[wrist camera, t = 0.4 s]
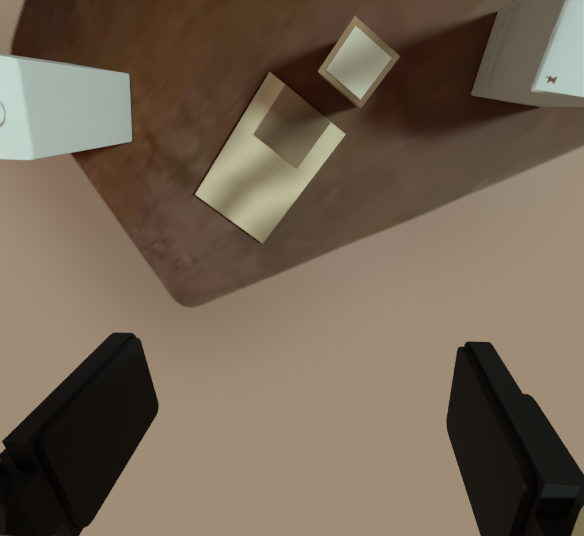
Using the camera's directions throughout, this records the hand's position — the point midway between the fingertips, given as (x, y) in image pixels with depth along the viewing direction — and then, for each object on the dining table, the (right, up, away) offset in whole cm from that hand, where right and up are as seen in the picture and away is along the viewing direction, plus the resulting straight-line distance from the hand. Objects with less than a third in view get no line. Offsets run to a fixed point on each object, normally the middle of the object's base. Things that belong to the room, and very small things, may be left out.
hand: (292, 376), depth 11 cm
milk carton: (-22, +22, +30) cm, 43 cm away
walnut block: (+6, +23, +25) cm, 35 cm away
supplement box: (+22, +23, +23) cm, 39 cm away
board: (-3, +15, +30) cm, 34 cm away
